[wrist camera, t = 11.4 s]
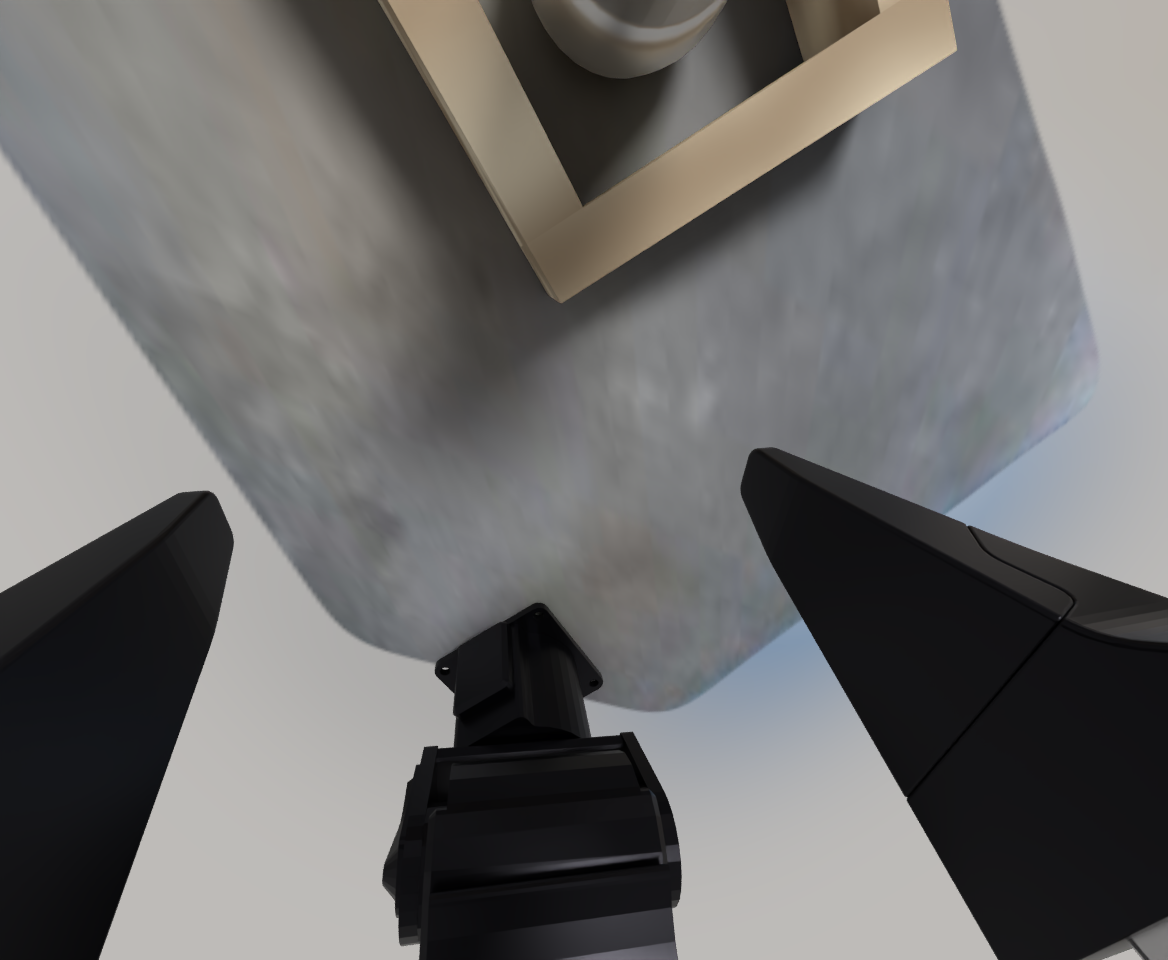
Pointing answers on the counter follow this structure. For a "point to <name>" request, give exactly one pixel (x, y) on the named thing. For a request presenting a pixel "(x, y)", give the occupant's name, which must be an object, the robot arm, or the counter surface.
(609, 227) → the bracket
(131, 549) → the robot arm
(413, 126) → the counter surface
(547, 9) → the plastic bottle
